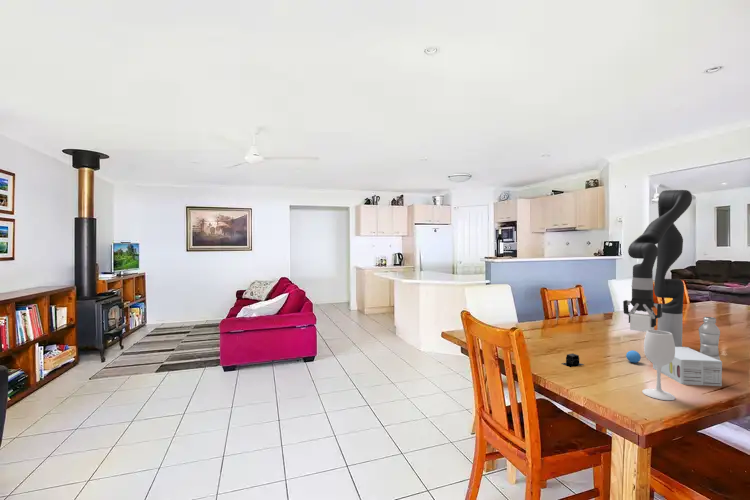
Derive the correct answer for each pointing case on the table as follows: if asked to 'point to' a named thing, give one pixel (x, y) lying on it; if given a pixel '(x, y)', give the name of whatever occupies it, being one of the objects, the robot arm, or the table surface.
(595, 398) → the table surface
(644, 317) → the smooth white box
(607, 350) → the table surface
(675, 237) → the robot arm
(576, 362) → the black screwed bracket block
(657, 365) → the wineglass
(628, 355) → the ball
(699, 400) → the table surface
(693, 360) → the supplement box
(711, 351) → the plastic bottle
